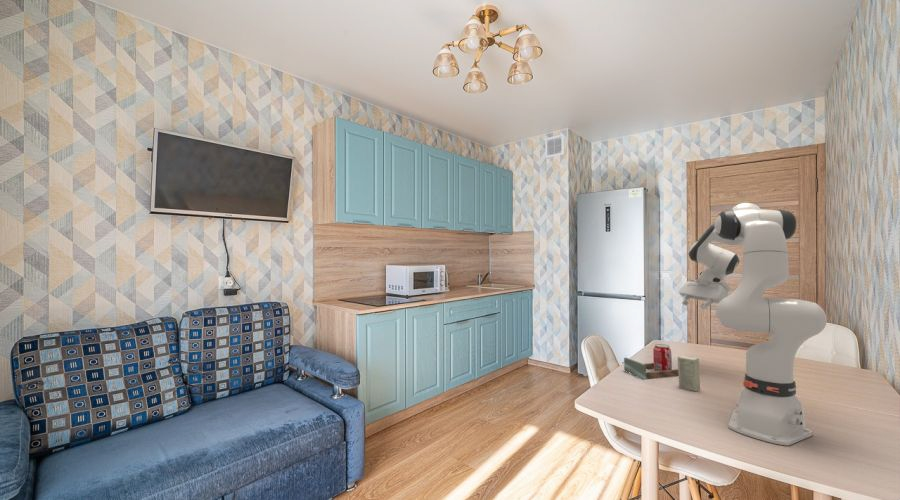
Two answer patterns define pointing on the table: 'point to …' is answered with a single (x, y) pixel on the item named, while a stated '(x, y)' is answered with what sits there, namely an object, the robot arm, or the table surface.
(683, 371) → the skincare box
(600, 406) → the table surface
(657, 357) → the soda can
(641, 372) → the can dock
